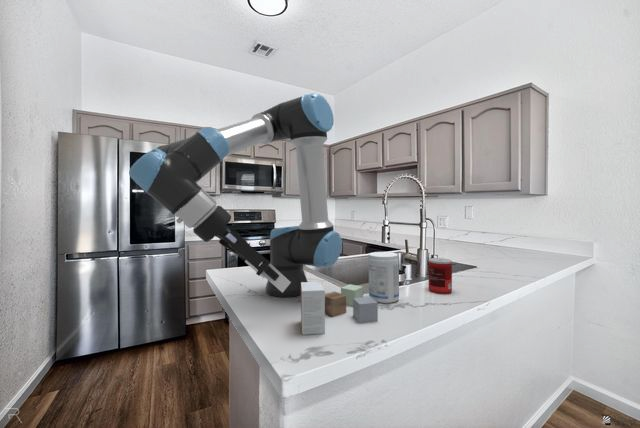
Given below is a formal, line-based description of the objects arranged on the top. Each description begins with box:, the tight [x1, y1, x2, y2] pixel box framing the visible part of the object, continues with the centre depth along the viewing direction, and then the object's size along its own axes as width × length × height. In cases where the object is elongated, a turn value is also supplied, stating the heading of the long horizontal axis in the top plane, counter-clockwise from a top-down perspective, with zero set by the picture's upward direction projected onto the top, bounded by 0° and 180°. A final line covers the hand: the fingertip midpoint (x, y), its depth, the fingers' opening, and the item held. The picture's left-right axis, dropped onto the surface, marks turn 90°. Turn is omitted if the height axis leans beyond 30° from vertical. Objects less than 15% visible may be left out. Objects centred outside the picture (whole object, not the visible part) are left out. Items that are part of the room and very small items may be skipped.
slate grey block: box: [352, 296, 379, 324], centre depth 75 cm, size 5×5×5 cm
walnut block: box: [325, 291, 347, 318], centre depth 80 cm, size 5×5×5 cm
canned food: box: [427, 257, 453, 295], centre depth 99 cm, size 8×8×11 cm
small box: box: [300, 281, 326, 336], centre depth 70 cm, size 8×6×10 cm
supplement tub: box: [367, 251, 400, 304], centre depth 91 cm, size 10×10×15 cm
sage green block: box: [340, 283, 364, 307], centre depth 87 cm, size 5×5×5 cm
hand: (275, 280), depth 65 cm, fingers open, 13 cm apart
